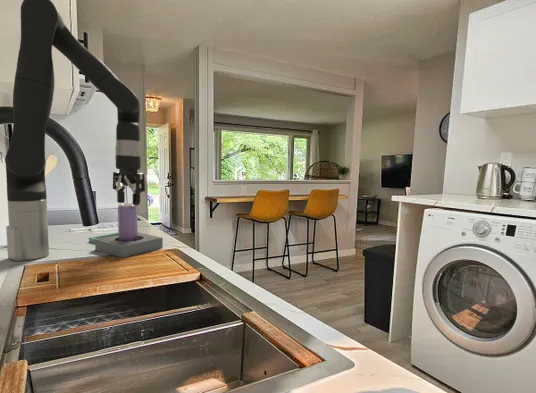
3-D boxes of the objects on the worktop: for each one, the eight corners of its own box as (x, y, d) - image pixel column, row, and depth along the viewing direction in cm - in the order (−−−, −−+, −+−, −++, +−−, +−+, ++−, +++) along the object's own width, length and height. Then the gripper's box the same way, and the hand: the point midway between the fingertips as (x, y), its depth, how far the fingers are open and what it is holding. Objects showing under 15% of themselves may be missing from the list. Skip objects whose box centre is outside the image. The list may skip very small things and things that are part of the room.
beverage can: (133, 250, 103) (132, 205, 102) (115, 250, 103) (114, 205, 102) (140, 246, 109) (140, 203, 108) (124, 245, 109) (123, 203, 108)
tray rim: (107, 246, 108) (107, 242, 108) (89, 241, 114) (88, 237, 114) (138, 240, 118) (138, 236, 118) (119, 236, 124) (119, 232, 124)
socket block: (122, 257, 96) (121, 246, 95) (95, 249, 104) (95, 239, 103) (162, 247, 108) (162, 237, 108) (135, 241, 116) (135, 232, 116)
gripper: (104, 154, 104) (105, 202, 105) (130, 154, 96) (131, 206, 97) (125, 155, 110) (126, 201, 111) (151, 155, 102) (151, 204, 104)
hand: (128, 203), depth 104 cm, fingers open, 8 cm apart
